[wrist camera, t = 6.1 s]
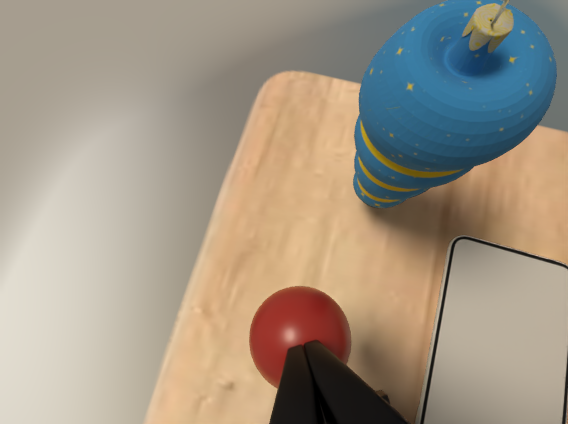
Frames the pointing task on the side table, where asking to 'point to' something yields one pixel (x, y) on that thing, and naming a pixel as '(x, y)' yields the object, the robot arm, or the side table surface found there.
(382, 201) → the ornament
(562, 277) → the smartphone
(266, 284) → the side table surface
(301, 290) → the switch lever
